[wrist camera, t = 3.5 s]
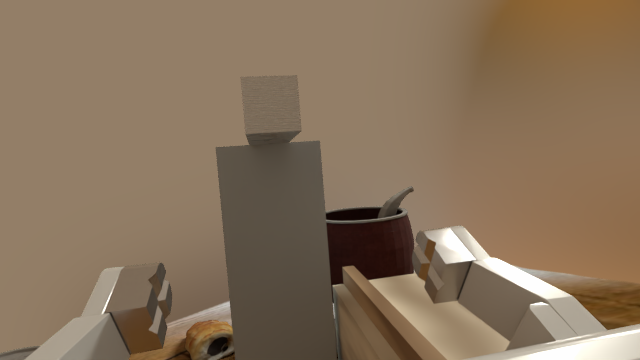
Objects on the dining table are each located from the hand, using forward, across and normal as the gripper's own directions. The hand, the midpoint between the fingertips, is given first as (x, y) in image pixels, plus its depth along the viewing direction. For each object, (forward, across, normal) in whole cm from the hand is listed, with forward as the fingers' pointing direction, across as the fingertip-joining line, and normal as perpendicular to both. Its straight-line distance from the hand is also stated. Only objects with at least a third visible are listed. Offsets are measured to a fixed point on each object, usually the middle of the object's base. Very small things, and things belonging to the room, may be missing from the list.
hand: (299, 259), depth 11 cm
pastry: (+21, +10, +37) cm, 44 cm away
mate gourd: (+18, -13, +35) cm, 42 cm away
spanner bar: (+18, 0, +4) cm, 18 cm away
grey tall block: (+9, 0, +30) cm, 31 cm away
